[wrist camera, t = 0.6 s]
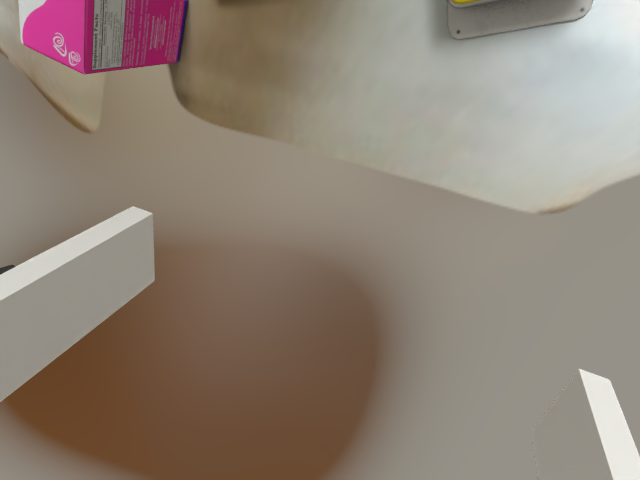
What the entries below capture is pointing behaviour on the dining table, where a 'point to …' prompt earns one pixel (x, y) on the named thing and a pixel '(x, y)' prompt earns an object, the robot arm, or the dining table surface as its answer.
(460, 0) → the emergency button
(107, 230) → the robot arm
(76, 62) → the supplement box
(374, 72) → the dining table surface
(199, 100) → the dining table surface
